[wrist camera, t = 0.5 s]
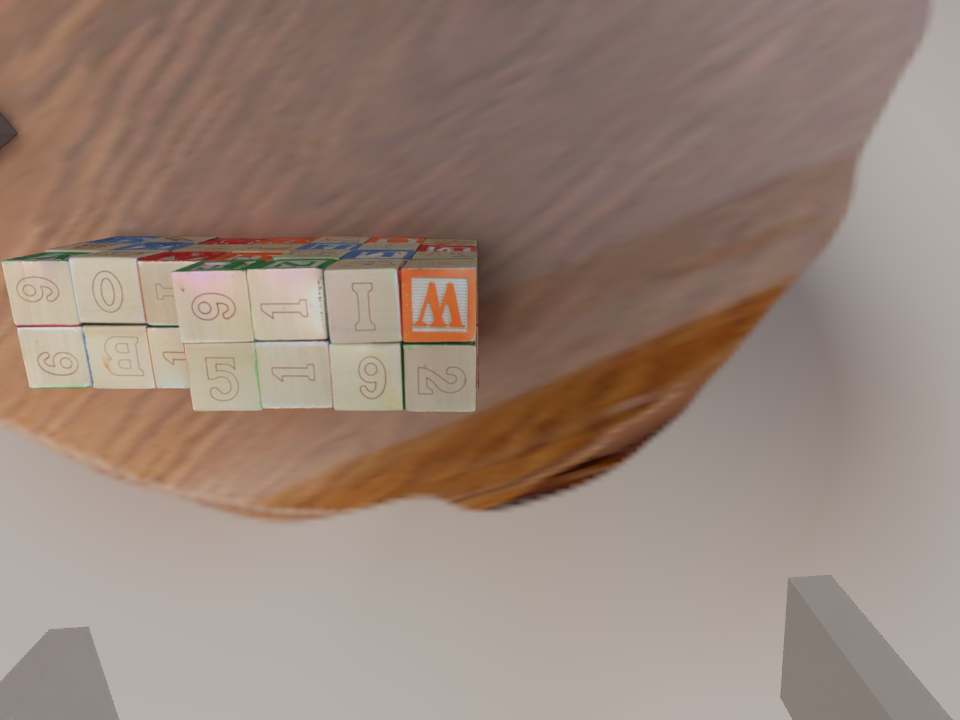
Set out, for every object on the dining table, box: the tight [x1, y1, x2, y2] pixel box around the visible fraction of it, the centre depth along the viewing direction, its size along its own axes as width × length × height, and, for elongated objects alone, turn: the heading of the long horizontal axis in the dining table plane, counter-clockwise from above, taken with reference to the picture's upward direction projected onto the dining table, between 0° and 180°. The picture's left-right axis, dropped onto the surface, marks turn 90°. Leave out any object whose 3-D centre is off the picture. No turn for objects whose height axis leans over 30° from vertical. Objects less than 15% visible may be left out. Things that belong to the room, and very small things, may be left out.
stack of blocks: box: [1, 236, 479, 412], centre depth 32 cm, size 21×6×12 cm, turn 90°
